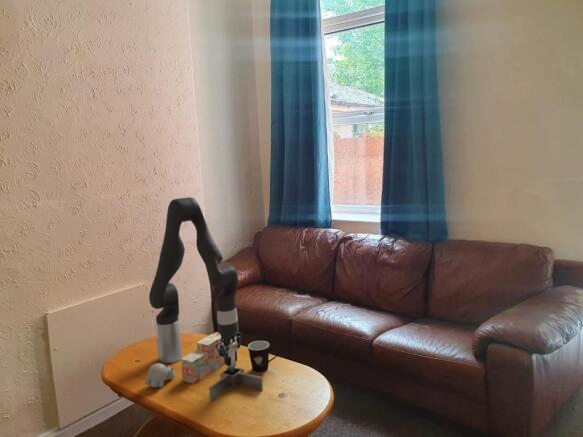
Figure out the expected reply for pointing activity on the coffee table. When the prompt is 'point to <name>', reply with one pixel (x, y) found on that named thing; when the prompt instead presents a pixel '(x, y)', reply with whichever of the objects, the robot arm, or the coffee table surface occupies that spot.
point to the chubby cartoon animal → (159, 375)
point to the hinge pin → (232, 359)
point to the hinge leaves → (234, 382)
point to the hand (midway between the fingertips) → (231, 363)
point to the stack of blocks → (202, 359)
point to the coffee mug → (260, 355)
